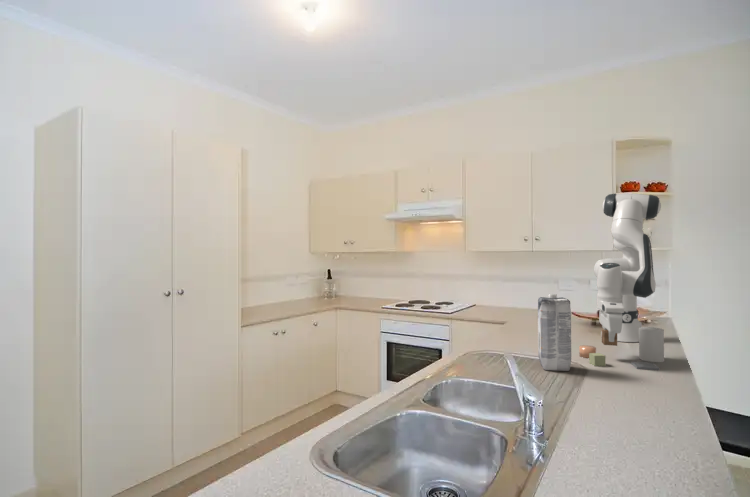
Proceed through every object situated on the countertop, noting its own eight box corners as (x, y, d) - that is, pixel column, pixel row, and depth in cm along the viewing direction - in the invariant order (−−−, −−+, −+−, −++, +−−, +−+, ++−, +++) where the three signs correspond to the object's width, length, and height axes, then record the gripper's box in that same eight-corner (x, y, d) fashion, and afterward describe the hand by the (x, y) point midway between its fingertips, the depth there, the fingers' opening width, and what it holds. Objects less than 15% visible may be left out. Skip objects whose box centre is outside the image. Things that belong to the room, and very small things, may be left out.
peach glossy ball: (578, 354, 173) (578, 344, 173) (594, 355, 171) (594, 345, 171) (581, 358, 167) (580, 348, 167) (597, 359, 165) (597, 349, 165)
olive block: (589, 363, 159) (589, 353, 159) (599, 363, 159) (599, 353, 159) (594, 366, 155) (594, 355, 155) (605, 366, 155) (605, 355, 155)
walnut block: (601, 342, 167) (601, 329, 167) (614, 342, 166) (614, 330, 166) (604, 344, 163) (604, 332, 163) (617, 345, 161) (617, 332, 161)
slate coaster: (631, 363, 158) (631, 361, 158) (652, 365, 156) (652, 362, 156) (637, 368, 151) (637, 366, 151) (659, 370, 149) (659, 368, 149)
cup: (656, 356, 168) (656, 327, 168) (668, 362, 160) (668, 330, 160) (635, 356, 169) (634, 326, 169) (646, 362, 160) (645, 330, 160)
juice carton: (573, 372, 148) (572, 296, 148) (541, 371, 150) (540, 295, 150) (566, 365, 156) (566, 293, 156) (537, 364, 159) (536, 293, 159)
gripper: (595, 300, 175) (595, 333, 175) (606, 308, 155) (606, 345, 156) (612, 300, 173) (612, 334, 173) (625, 309, 153) (625, 346, 154)
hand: (609, 339), depth 164 cm, fingers closed on walnut block, 4 cm apart
